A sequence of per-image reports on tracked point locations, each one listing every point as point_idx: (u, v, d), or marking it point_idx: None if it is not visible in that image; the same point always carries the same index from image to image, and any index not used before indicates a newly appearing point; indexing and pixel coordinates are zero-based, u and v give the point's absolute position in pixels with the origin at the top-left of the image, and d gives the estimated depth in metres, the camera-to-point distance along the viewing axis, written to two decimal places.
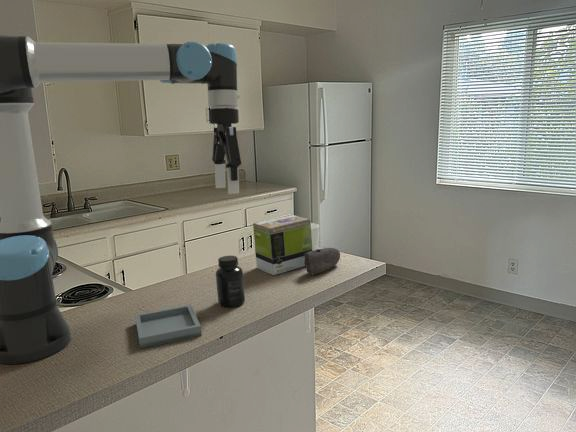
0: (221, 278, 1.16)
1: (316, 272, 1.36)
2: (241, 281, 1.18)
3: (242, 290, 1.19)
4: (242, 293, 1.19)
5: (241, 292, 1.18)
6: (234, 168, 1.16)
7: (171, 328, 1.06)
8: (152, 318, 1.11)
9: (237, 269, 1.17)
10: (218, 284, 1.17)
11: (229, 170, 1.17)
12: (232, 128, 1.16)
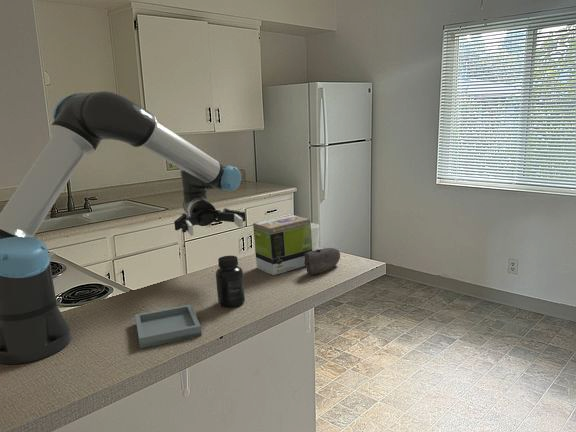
0: (221, 278, 1.16)
1: (316, 272, 1.36)
2: (241, 281, 1.18)
3: (242, 290, 1.19)
4: (242, 293, 1.19)
5: (241, 292, 1.18)
6: None
7: (171, 328, 1.06)
8: (152, 318, 1.11)
9: (237, 269, 1.17)
10: (218, 284, 1.17)
11: None
12: None
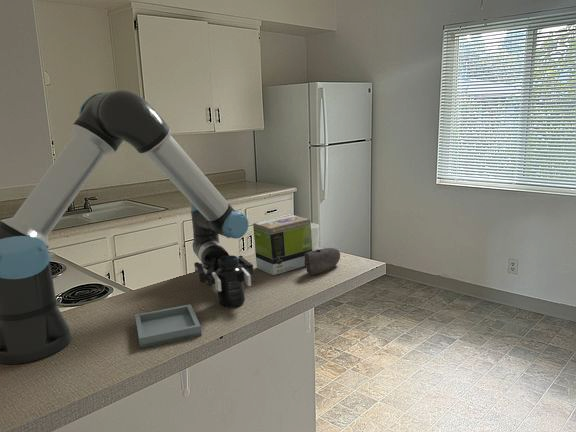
0: (221, 278, 1.16)
1: (316, 272, 1.36)
2: (241, 281, 1.18)
3: (242, 290, 1.19)
4: (242, 293, 1.19)
5: (241, 292, 1.18)
6: (248, 271, 1.22)
7: (171, 328, 1.06)
8: (152, 318, 1.11)
9: (237, 269, 1.17)
10: None
11: None
12: None
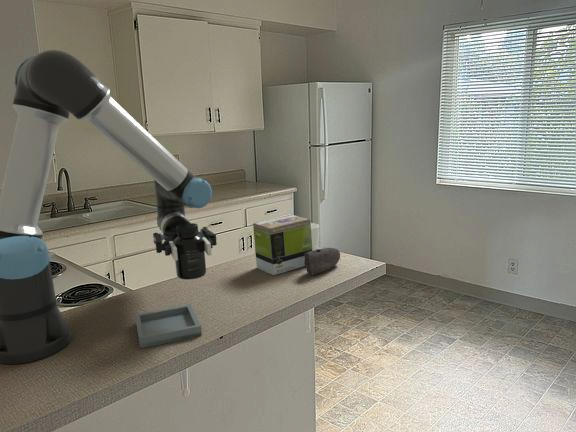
0: (178, 246, 1.06)
1: (316, 272, 1.36)
2: (201, 251, 1.08)
3: (202, 261, 1.08)
4: (202, 264, 1.08)
5: (201, 263, 1.08)
6: (210, 241, 1.12)
7: (171, 328, 1.06)
8: (152, 318, 1.11)
9: (197, 237, 1.07)
10: None
11: (205, 239, 1.11)
12: None
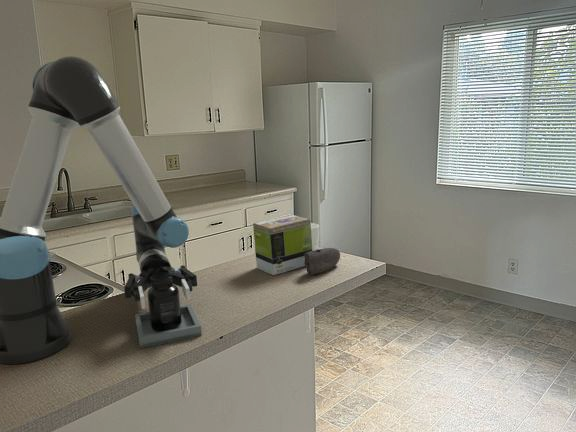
0: (152, 299, 1.03)
1: (316, 272, 1.36)
2: (176, 302, 1.05)
3: (177, 312, 1.05)
4: (177, 316, 1.05)
5: (176, 314, 1.05)
6: (190, 283, 1.09)
7: None
8: None
9: (171, 289, 1.04)
10: (149, 305, 1.04)
11: (185, 281, 1.08)
12: None
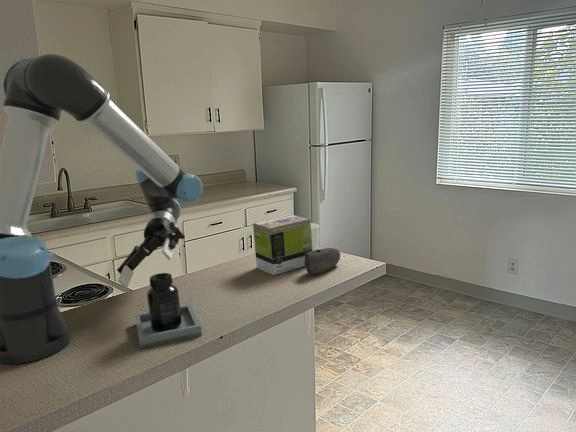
0: (151, 299, 1.03)
1: (316, 272, 1.36)
2: (175, 302, 1.05)
3: (177, 312, 1.05)
4: (177, 316, 1.05)
5: (176, 315, 1.05)
6: (175, 239, 1.18)
7: None
8: None
9: (171, 289, 1.04)
10: (149, 306, 1.04)
11: (168, 239, 1.17)
12: (176, 226, 1.27)
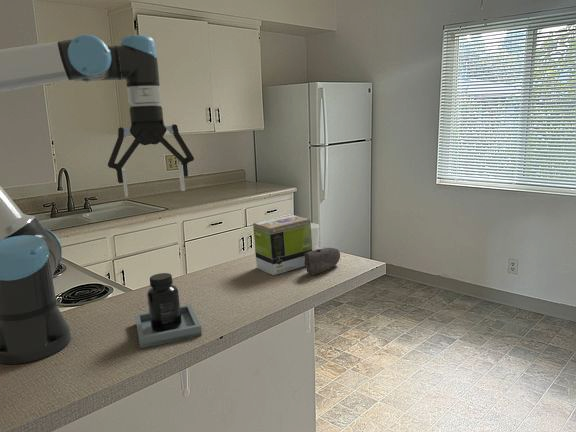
0: (151, 299, 1.03)
1: (316, 272, 1.36)
2: (176, 302, 1.05)
3: (177, 312, 1.05)
4: (177, 316, 1.05)
5: (176, 315, 1.05)
6: (116, 170, 1.13)
7: None
8: None
9: (171, 289, 1.04)
10: (149, 306, 1.04)
11: None
12: (118, 129, 1.11)
